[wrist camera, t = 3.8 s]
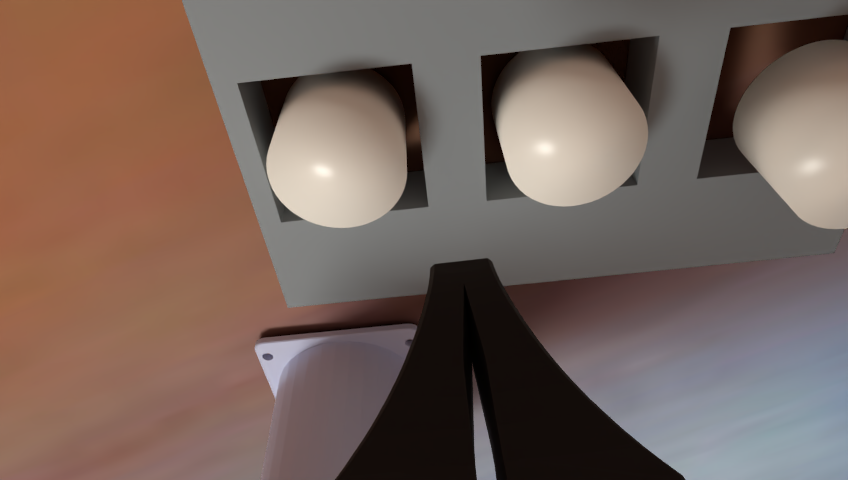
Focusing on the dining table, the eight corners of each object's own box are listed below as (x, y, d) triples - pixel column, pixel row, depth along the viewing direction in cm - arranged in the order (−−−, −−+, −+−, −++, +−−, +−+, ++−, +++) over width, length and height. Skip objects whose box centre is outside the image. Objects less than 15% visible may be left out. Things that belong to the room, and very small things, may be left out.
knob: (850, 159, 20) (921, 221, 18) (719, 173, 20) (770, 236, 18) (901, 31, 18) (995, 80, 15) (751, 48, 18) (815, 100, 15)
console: (800, 215, 26) (833, 253, 24) (295, 267, 26) (288, 307, 24) (946, -179, 17) (1018, -172, 15) (184, -87, 18) (158, -67, 16)
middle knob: (608, 146, 22) (638, 199, 20) (492, 158, 23) (506, 212, 20) (621, 30, 20) (657, 73, 17) (489, 45, 20) (504, 90, 17)
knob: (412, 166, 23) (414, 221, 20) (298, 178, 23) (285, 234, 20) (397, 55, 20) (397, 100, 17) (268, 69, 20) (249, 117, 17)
